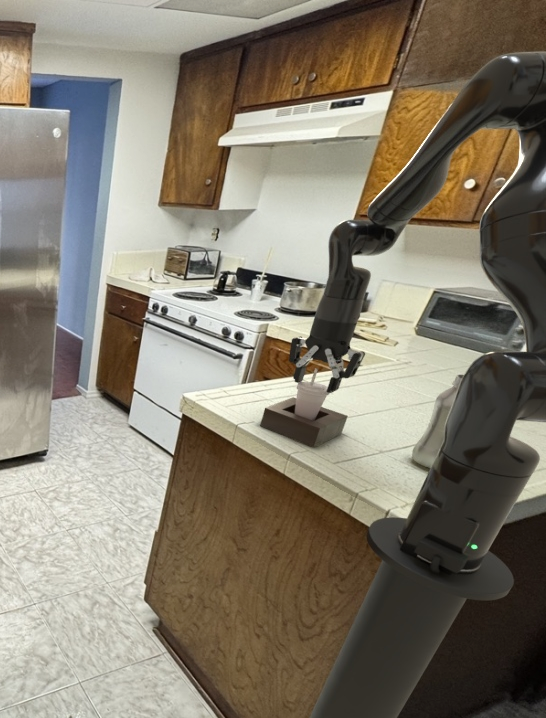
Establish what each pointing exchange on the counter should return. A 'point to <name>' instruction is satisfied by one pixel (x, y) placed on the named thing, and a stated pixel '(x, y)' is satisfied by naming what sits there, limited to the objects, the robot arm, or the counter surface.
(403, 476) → the counter surface
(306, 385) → the smoothie
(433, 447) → the plastic bottle
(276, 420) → the holder
